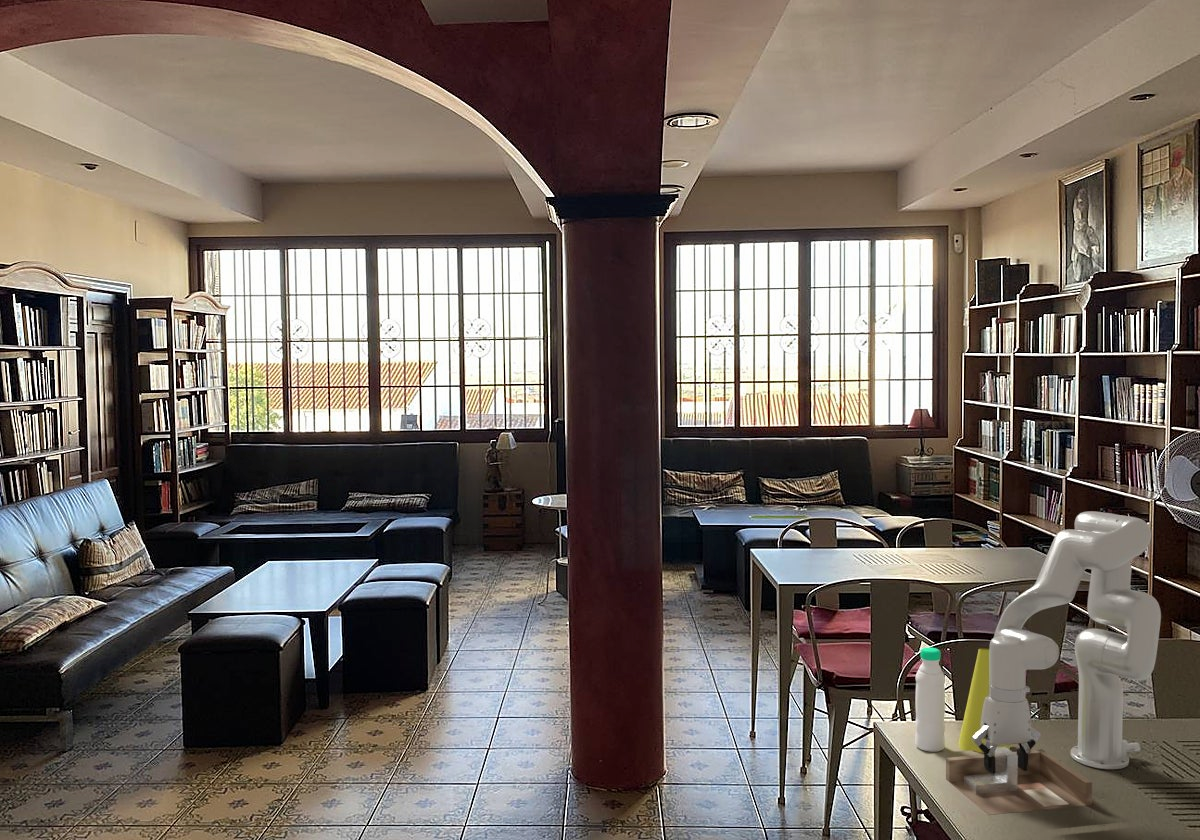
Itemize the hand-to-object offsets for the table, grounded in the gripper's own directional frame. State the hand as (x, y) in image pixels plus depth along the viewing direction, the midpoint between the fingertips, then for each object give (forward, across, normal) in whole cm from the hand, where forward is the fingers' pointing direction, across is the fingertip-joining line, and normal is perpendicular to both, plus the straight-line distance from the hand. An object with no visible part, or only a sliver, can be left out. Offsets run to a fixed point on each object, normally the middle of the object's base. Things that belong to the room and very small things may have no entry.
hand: (1005, 769), depth 225 cm
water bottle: (+5, +5, -26) cm, 27 cm away
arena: (+5, -1, +3) cm, 6 cm away
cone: (+5, -8, -23) cm, 25 cm away
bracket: (+4, +4, 0) cm, 5 cm away
